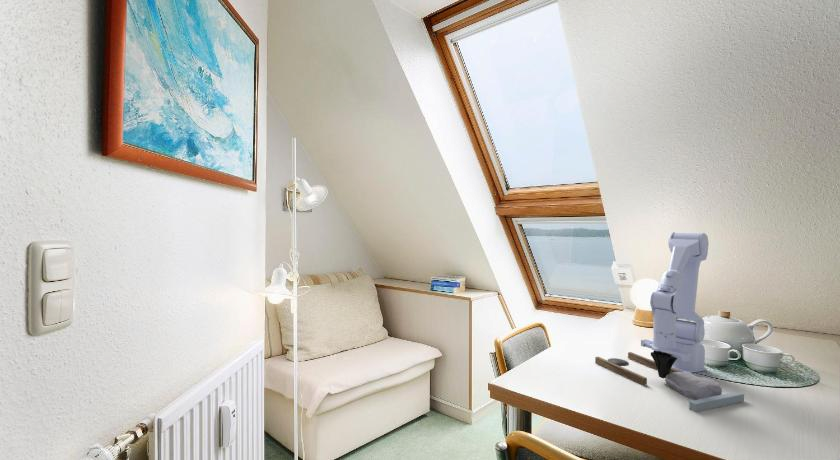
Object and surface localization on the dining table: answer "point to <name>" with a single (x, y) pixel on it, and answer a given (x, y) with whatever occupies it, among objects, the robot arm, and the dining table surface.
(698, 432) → the dining table surface
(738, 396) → the stop bar
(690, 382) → the stone block
